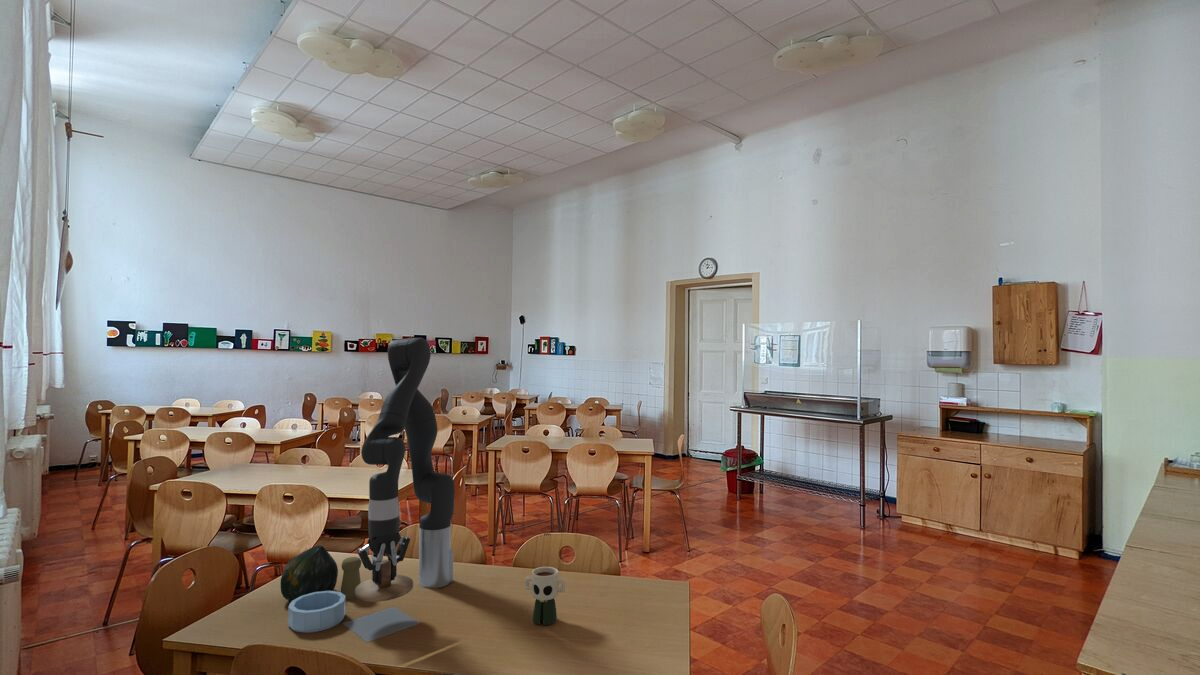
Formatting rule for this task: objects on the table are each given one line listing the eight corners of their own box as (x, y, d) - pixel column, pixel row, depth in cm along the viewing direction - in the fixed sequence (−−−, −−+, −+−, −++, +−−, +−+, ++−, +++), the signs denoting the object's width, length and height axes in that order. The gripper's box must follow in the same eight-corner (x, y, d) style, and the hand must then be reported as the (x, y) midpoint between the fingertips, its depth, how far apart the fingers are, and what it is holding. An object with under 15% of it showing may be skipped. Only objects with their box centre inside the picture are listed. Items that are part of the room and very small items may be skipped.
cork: (354, 602, 166) (354, 562, 166) (334, 600, 167) (335, 561, 167) (366, 593, 172) (367, 555, 172) (348, 591, 173) (348, 553, 173)
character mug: (520, 625, 152) (520, 574, 152) (528, 613, 159) (529, 565, 159) (561, 629, 150) (561, 578, 150) (568, 617, 157) (568, 568, 157)
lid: (396, 574, 162) (396, 548, 162) (423, 588, 153) (423, 561, 153) (345, 590, 152) (345, 563, 152) (370, 607, 142) (370, 577, 142)
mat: (394, 608, 162) (394, 606, 162) (420, 625, 152) (420, 623, 152) (342, 625, 152) (342, 623, 152) (366, 644, 142) (366, 642, 142)
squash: (261, 580, 167) (289, 545, 164) (306, 565, 180) (332, 531, 177) (287, 622, 162) (316, 585, 159) (331, 602, 176) (358, 569, 173)
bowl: (332, 607, 162) (333, 587, 162) (353, 623, 153) (353, 601, 153) (281, 623, 153) (281, 601, 153) (299, 640, 144) (300, 617, 144)
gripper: (402, 506, 160) (402, 570, 160) (350, 517, 150) (350, 586, 150) (416, 511, 155) (416, 577, 155) (364, 524, 145) (364, 594, 144)
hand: (384, 581), depth 152 cm, fingers closed on lid, 3 cm apart
